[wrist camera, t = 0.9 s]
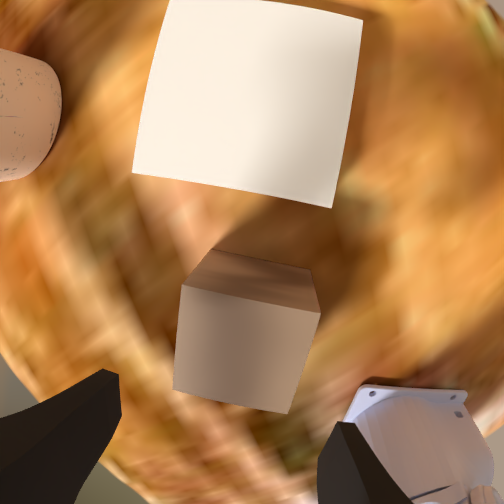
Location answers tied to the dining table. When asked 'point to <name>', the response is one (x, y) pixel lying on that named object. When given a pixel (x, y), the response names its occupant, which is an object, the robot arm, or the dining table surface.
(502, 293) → the dining table surface
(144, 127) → the cream block
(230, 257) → the walnut cube
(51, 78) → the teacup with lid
